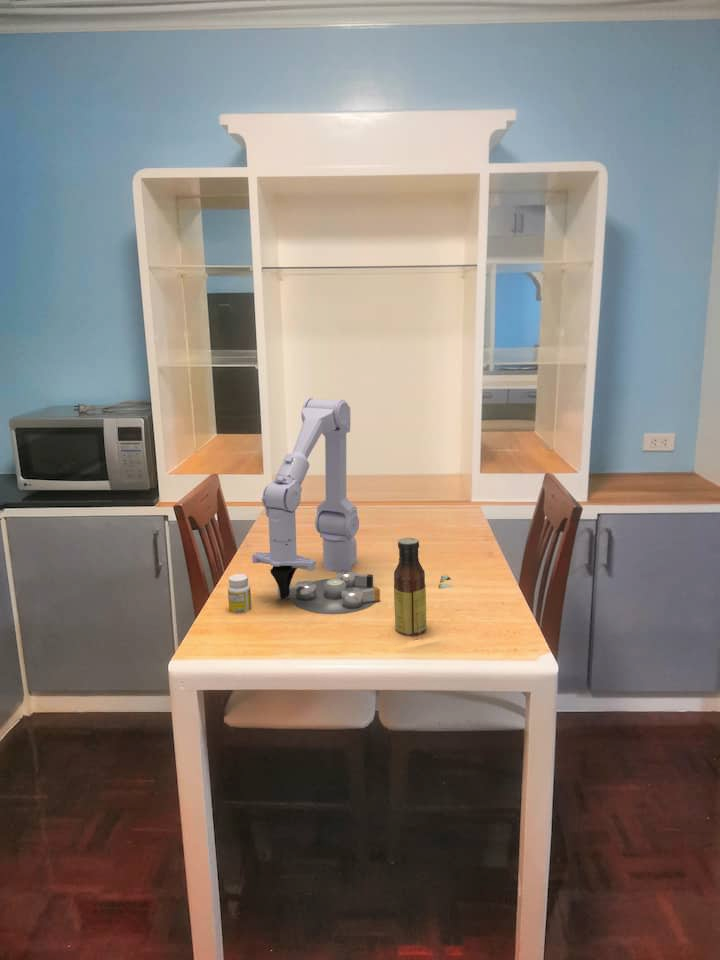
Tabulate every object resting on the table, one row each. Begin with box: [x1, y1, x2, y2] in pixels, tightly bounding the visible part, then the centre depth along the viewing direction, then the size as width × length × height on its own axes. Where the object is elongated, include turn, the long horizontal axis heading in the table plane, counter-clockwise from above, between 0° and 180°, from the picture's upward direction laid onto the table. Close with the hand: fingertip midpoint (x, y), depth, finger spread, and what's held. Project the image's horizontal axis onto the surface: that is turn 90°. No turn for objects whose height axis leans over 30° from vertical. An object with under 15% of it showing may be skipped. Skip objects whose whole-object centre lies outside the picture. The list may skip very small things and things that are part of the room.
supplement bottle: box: [227, 573, 252, 614], centre depth 141 cm, size 5×5×8 cm
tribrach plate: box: [289, 578, 378, 615], centre depth 148 cm, size 20×20×5 cm
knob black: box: [336, 569, 374, 588], centre depth 153 cm, size 8×5×3 cm, turn 78°
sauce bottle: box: [393, 537, 427, 641], centre depth 129 cm, size 7×6×20 cm
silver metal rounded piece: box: [277, 580, 316, 600], centre depth 147 cm, size 8×5×3 cm, turn 97°
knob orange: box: [342, 586, 381, 608], centre depth 143 cm, size 8×5×3 cm, turn 113°
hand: (284, 597), depth 144 cm, fingers closed, pressing on silver metal rounded piece
